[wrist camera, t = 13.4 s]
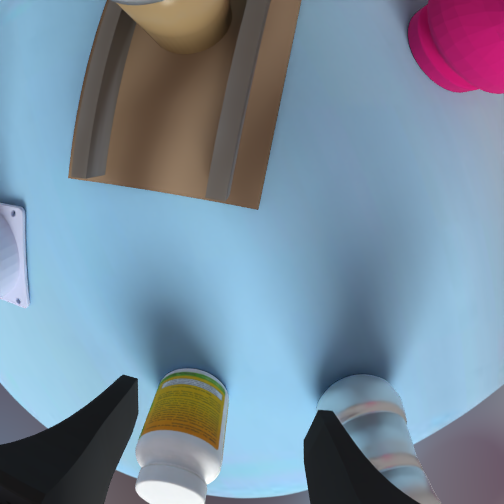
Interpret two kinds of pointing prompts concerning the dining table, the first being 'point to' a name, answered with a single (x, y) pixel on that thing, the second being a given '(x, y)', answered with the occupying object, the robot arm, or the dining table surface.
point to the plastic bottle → (379, 431)
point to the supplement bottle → (182, 438)
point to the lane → (184, 106)
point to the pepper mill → (460, 44)
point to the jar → (181, 22)
